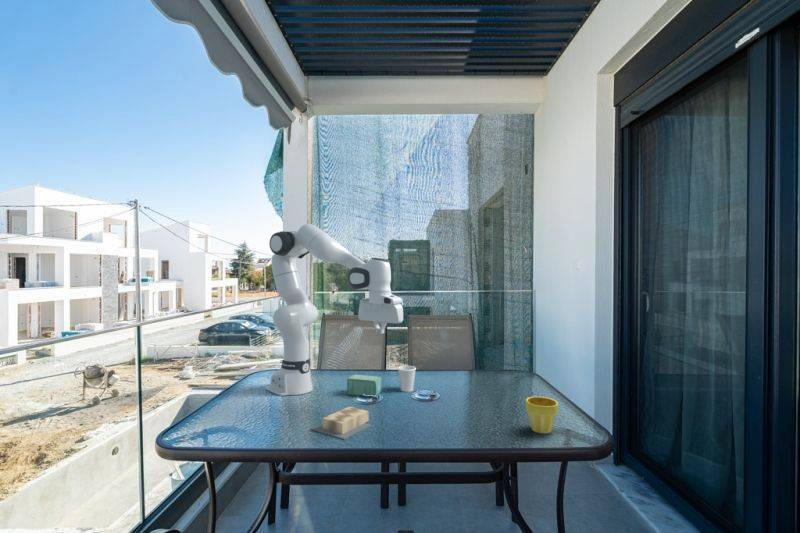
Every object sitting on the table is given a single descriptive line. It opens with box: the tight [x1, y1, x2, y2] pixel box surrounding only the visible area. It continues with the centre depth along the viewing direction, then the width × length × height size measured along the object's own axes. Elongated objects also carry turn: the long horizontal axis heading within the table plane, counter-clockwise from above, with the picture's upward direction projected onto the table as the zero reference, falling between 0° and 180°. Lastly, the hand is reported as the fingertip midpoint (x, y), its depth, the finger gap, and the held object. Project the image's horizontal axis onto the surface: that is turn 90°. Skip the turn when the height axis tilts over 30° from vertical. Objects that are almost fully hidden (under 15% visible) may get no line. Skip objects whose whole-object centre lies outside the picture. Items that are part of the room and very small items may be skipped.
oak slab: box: [322, 406, 370, 434], centre depth 144 cm, size 9×4×14 cm
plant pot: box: [525, 396, 559, 435], centre depth 139 cm, size 10×10×10 cm
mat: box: [311, 422, 372, 441], centre depth 142 cm, size 15×14×1 cm
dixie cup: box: [397, 365, 417, 393], centre depth 185 cm, size 8×8×10 cm
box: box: [346, 374, 382, 397], centre depth 180 cm, size 7×14×8 cm, turn 74°
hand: (380, 333), depth 164 cm, fingers closed
